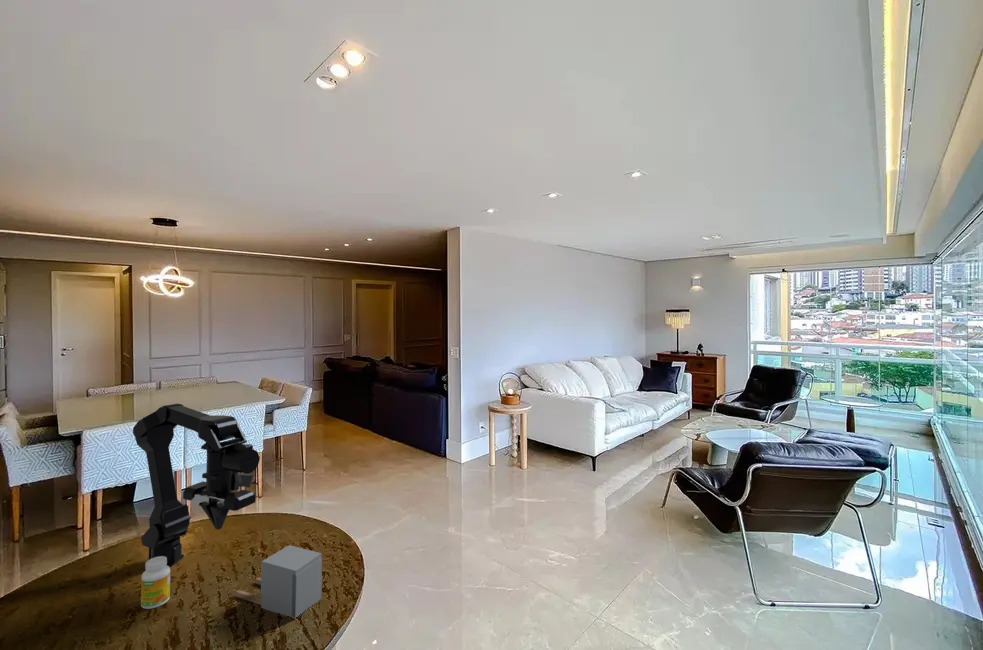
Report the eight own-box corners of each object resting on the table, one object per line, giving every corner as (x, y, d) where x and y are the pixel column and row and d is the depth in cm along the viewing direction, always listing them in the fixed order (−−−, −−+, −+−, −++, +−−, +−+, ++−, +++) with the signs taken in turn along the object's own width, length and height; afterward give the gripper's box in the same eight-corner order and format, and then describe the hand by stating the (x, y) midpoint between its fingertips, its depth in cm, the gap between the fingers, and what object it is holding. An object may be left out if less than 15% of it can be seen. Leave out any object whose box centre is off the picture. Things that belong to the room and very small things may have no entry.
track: (235, 596, 105) (235, 591, 105) (258, 581, 111) (258, 577, 111) (263, 605, 102) (264, 600, 102) (285, 590, 108) (285, 585, 108)
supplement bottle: (138, 612, 99) (138, 569, 99) (143, 598, 103) (144, 557, 103) (167, 605, 101) (168, 563, 101) (171, 592, 106) (172, 552, 106)
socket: (261, 607, 101) (261, 561, 101) (288, 588, 109) (289, 544, 109) (295, 619, 98) (296, 571, 98) (321, 598, 105) (322, 553, 105)
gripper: (273, 463, 116) (272, 522, 116) (222, 454, 122) (221, 510, 122) (236, 476, 105) (234, 541, 105) (182, 466, 112) (181, 527, 112)
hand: (218, 528), depth 111 cm, fingers closed
